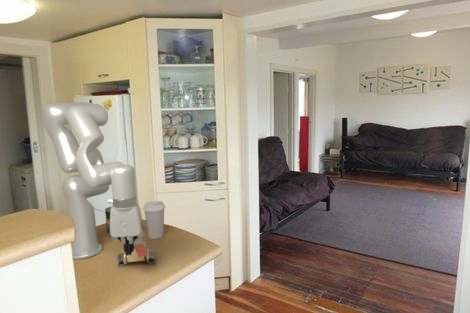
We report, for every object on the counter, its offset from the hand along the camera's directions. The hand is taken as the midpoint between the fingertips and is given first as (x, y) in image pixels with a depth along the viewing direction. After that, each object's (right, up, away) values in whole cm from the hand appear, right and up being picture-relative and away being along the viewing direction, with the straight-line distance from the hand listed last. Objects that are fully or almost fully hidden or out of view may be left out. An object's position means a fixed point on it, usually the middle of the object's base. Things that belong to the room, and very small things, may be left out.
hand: (129, 253), depth 115 cm
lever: (+2, +1, +3) cm, 4 cm away
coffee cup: (+1, -2, +35) cm, 35 cm away
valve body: (0, -6, +10) cm, 11 cm away
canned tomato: (-19, -2, +42) cm, 46 cm away
